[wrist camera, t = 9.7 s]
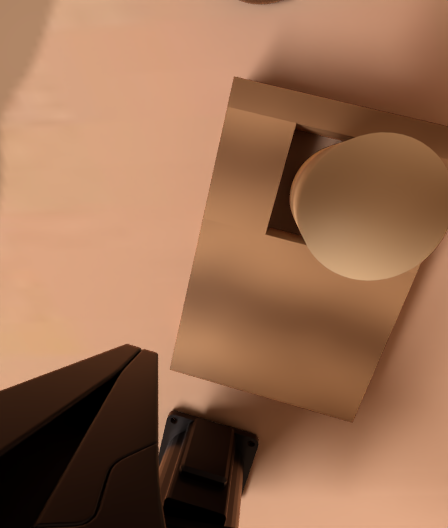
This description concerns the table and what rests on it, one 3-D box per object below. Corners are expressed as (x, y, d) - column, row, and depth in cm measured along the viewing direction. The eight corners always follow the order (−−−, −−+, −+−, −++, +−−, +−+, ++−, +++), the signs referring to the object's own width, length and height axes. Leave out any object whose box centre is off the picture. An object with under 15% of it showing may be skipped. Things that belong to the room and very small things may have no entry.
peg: (351, 238, 19) (417, 296, 11) (276, 219, 20) (281, 260, 11) (380, 159, 18) (481, 153, 9) (298, 140, 18) (325, 116, 10)
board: (343, 395, 22) (352, 422, 20) (180, 348, 23) (169, 369, 20) (448, 137, 17) (476, 133, 15) (239, 88, 18) (234, 76, 16)
